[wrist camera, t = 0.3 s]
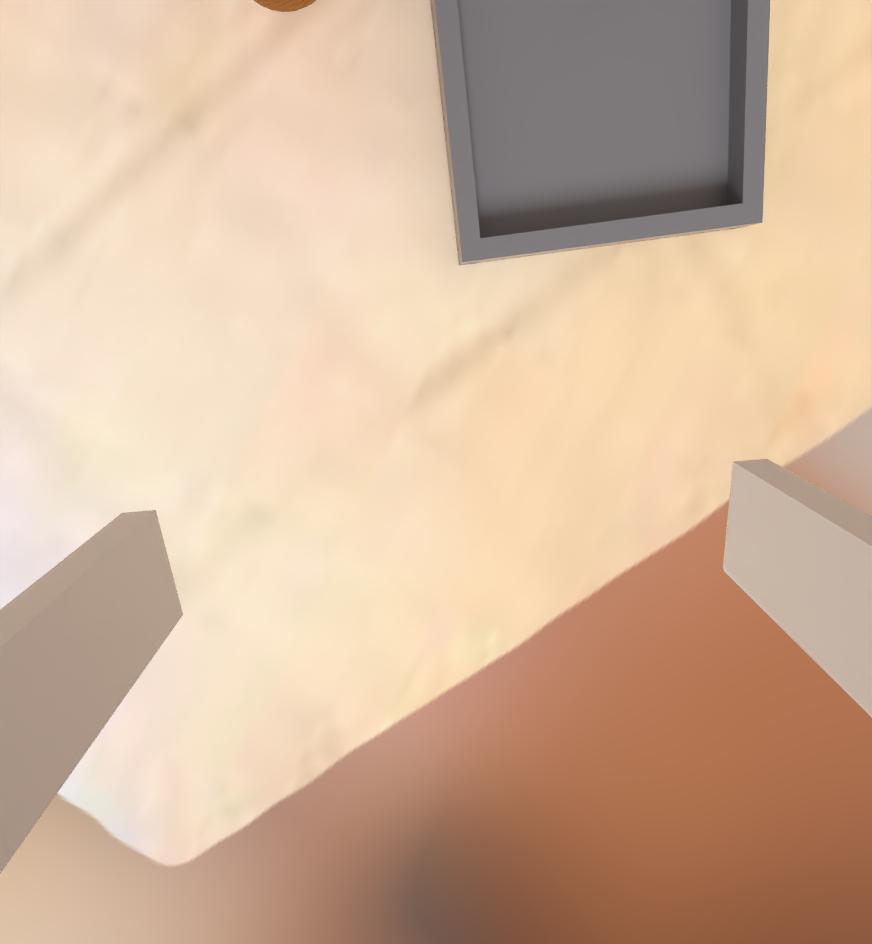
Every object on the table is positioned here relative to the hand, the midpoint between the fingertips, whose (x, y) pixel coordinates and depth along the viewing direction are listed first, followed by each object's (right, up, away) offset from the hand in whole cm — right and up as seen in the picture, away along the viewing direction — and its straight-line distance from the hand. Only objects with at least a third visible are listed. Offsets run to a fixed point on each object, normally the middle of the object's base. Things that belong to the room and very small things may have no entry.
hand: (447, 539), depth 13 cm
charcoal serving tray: (+9, +25, +21) cm, 34 cm away
